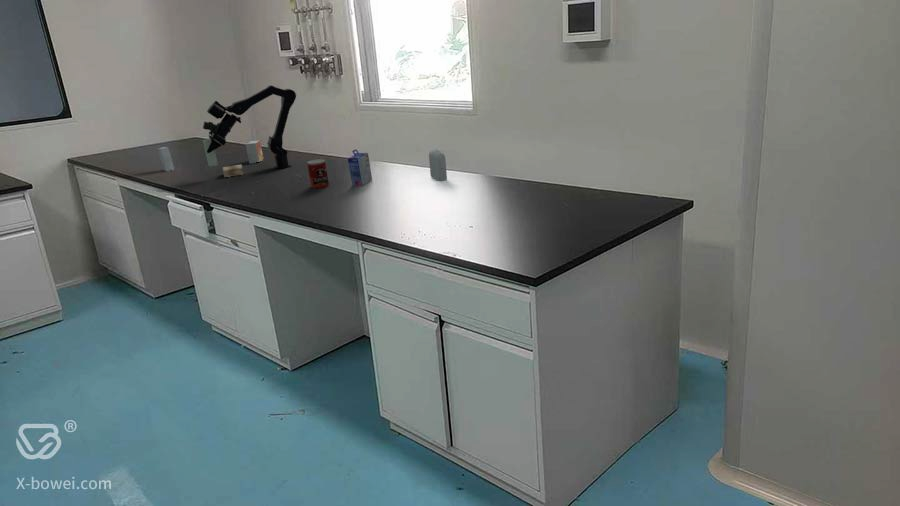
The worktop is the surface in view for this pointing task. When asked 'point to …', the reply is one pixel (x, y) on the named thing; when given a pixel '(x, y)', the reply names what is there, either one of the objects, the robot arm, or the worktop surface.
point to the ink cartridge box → (359, 168)
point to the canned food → (318, 173)
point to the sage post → (210, 156)
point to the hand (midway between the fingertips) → (207, 151)
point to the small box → (254, 151)
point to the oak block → (233, 170)
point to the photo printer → (437, 165)
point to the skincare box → (165, 158)
